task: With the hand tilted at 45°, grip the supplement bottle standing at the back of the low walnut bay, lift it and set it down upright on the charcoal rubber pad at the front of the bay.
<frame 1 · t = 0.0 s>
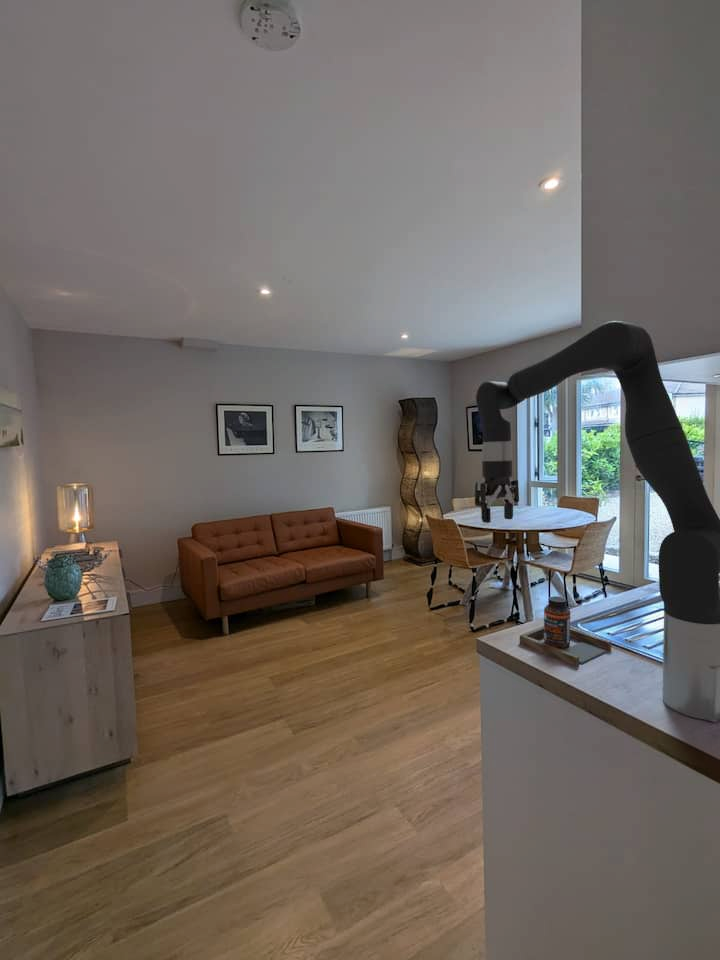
hand: (497, 520, 120), 29 cm above the table, tool pointing down, fingers open, 8 cm apart
bay: (566, 647, 110), on the table
front pad: (581, 653, 107), on the table
supplement bottle: (556, 644, 112), resting in bay
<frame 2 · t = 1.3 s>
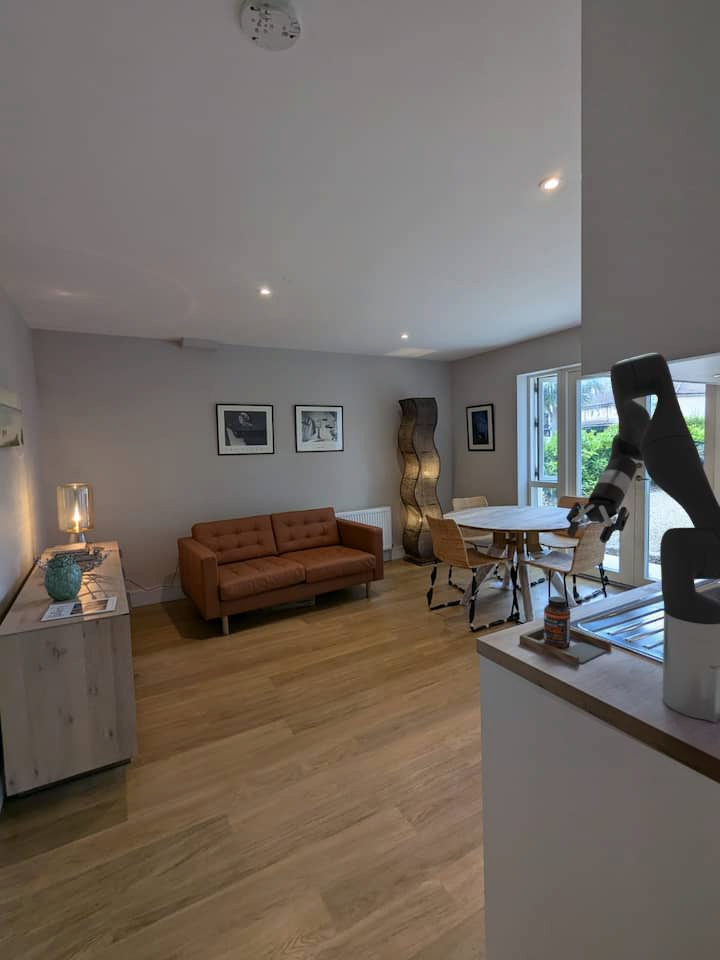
hand: (585, 538, 117), 25 cm above the table, tool tilted 45°, fingers open, 8 cm apart
nothing on the table moved.
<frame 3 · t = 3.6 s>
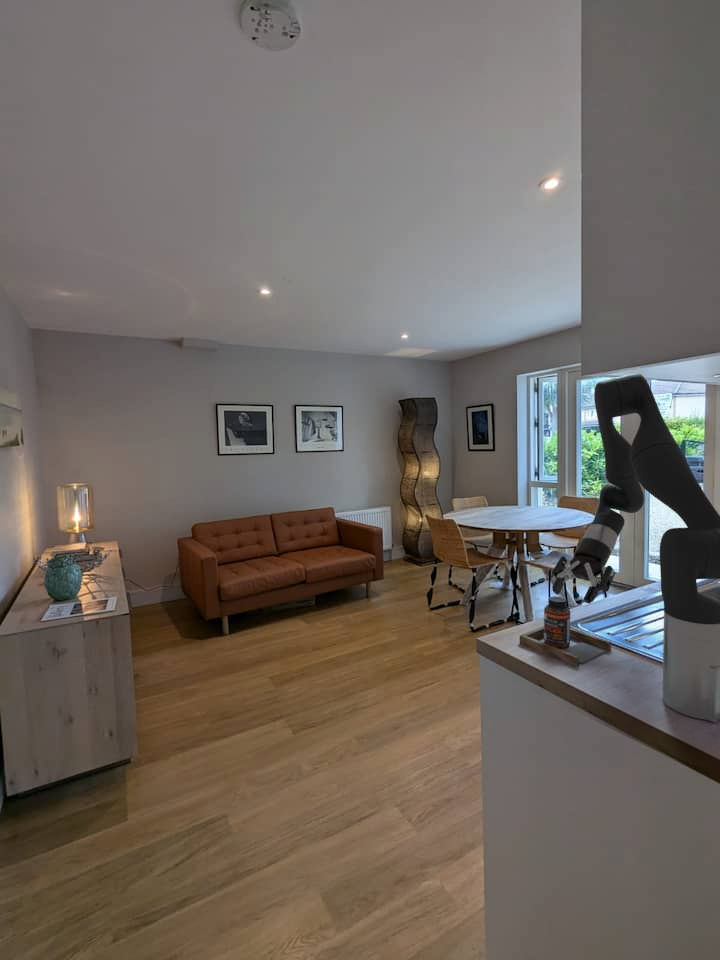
hand: (570, 597, 114), 11 cm above the table, tool tilted 45°, fingers open, 8 cm apart
nothing on the table moved.
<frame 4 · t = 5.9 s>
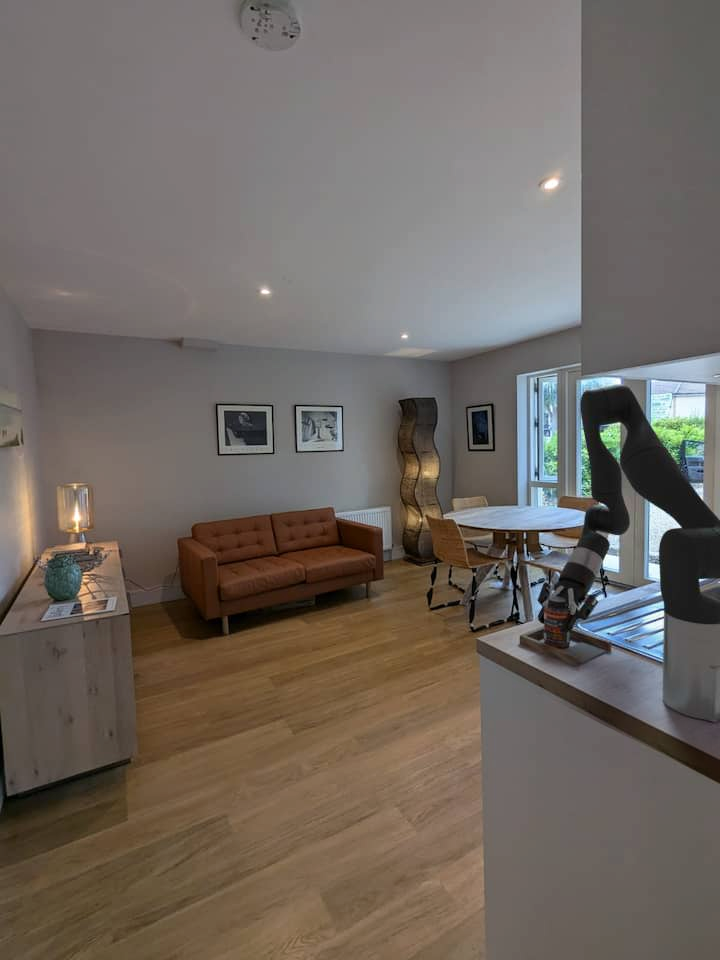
hand: (552, 625, 111), 5 cm above the table, tool tilted 45°, fingers closed on supplement bottle, 6 cm apart
supplement bottle: (556, 644, 112), resting in bay, touching gripper
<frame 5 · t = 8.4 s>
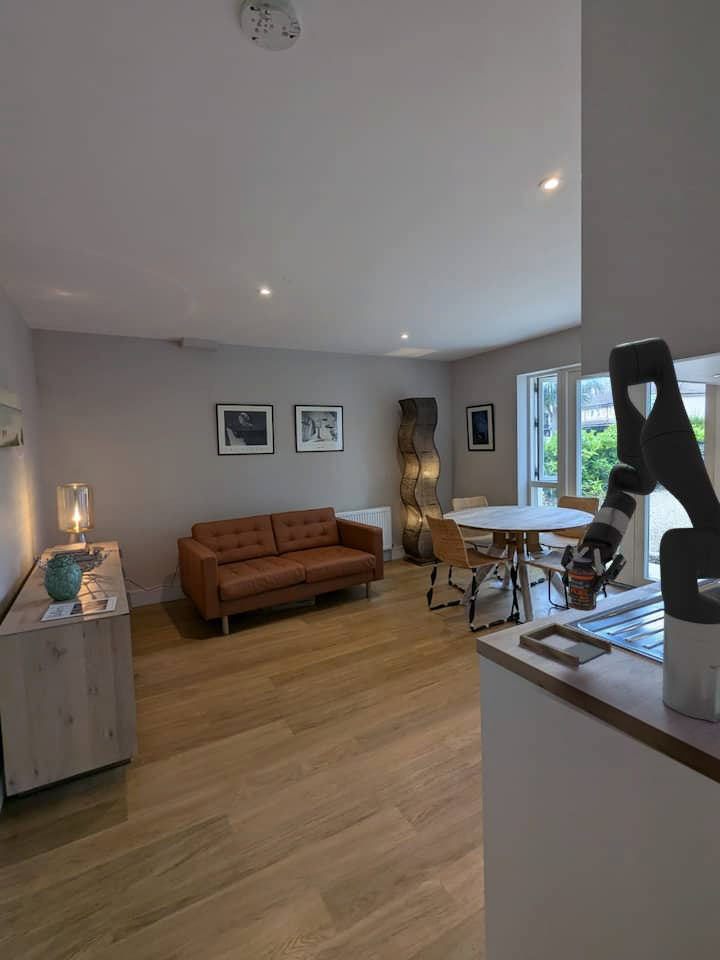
hand: (578, 588, 105), 16 cm above the table, tool tilted 45°, fingers closed on supplement bottle, 6 cm apart
supplement bottle: (582, 608, 106), point 11 cm above the table, touching gripper
when the fingers open (6 cm above the table, at t = 11.0 s): supplement bottle stays where it is, resting on front pad.
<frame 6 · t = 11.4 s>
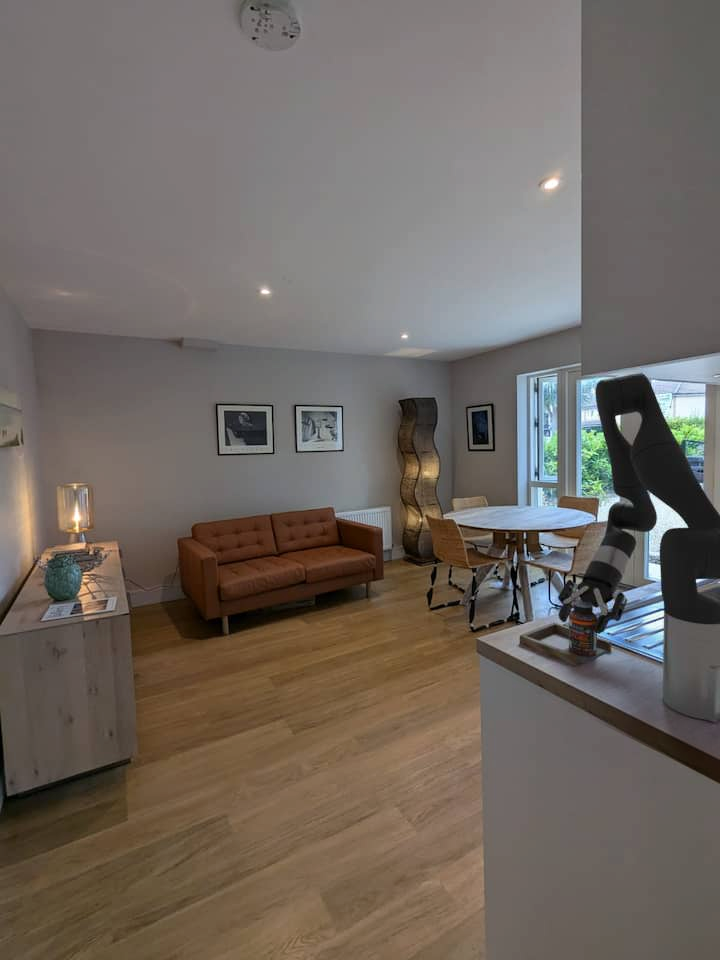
hand: (578, 625, 105), 7 cm above the table, tool tilted 45°, fingers open, 8 cm apart
supplement bottle: (582, 651, 107), resting on front pad
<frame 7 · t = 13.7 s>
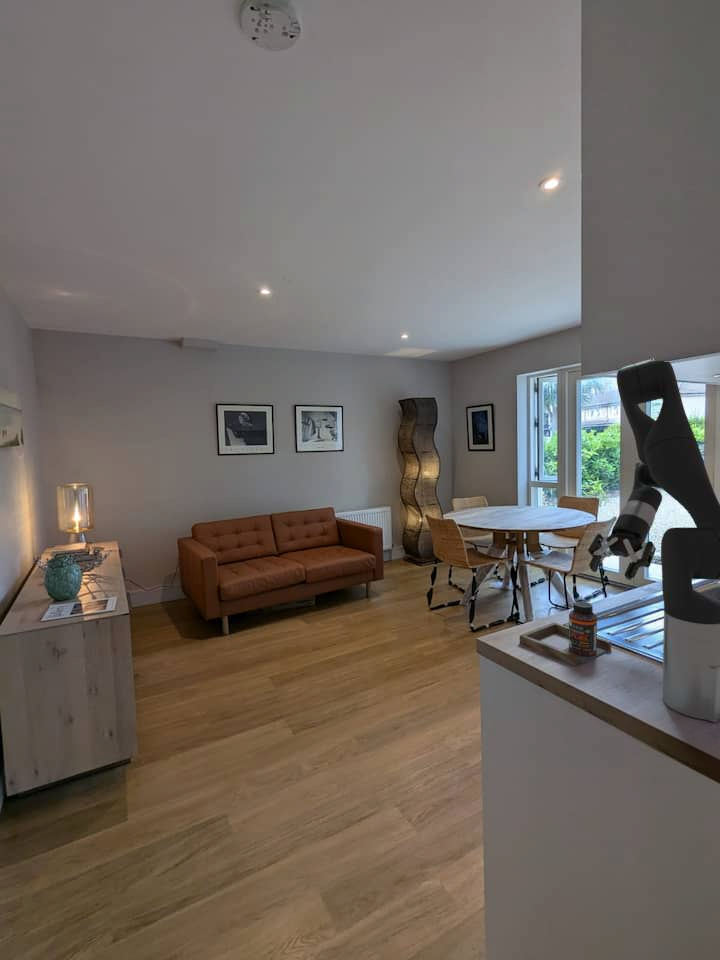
hand: (609, 573, 112), 17 cm above the table, tool tilted 45°, fingers open, 8 cm apart
nothing on the table moved.
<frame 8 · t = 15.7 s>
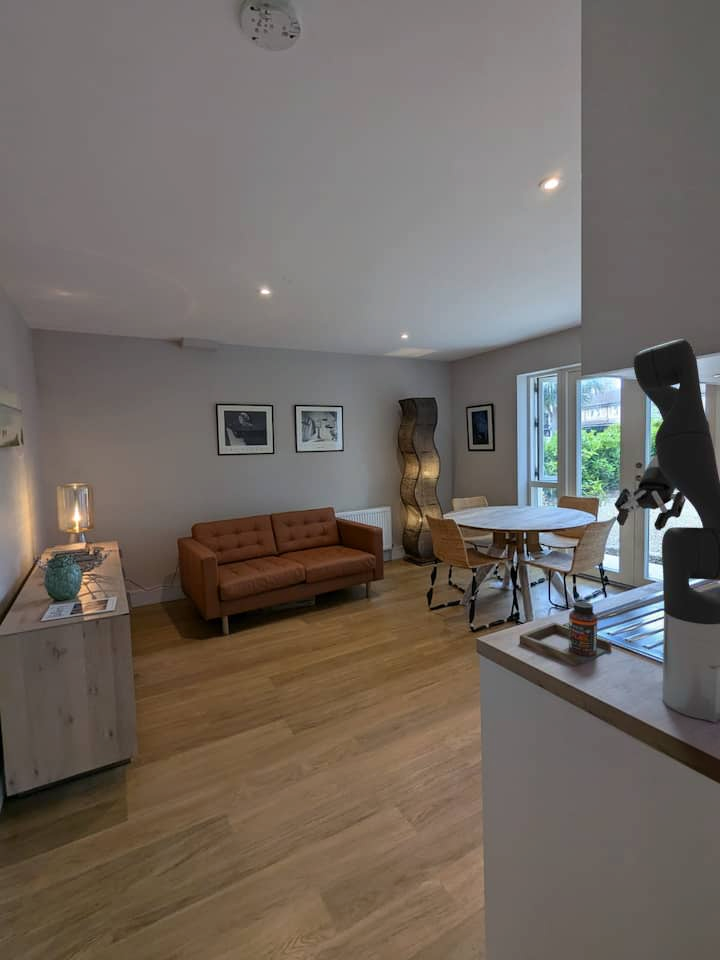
hand: (638, 525, 110), 29 cm above the table, tool tilted 45°, fingers open, 8 cm apart
nothing on the table moved.
at the end: supplement bottle inside the target area on the front pad (0.2 cm from its centre), point 0.2 cm above the front pad's base; supplement bottle tilted 0°; the gripper is holding nothing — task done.
